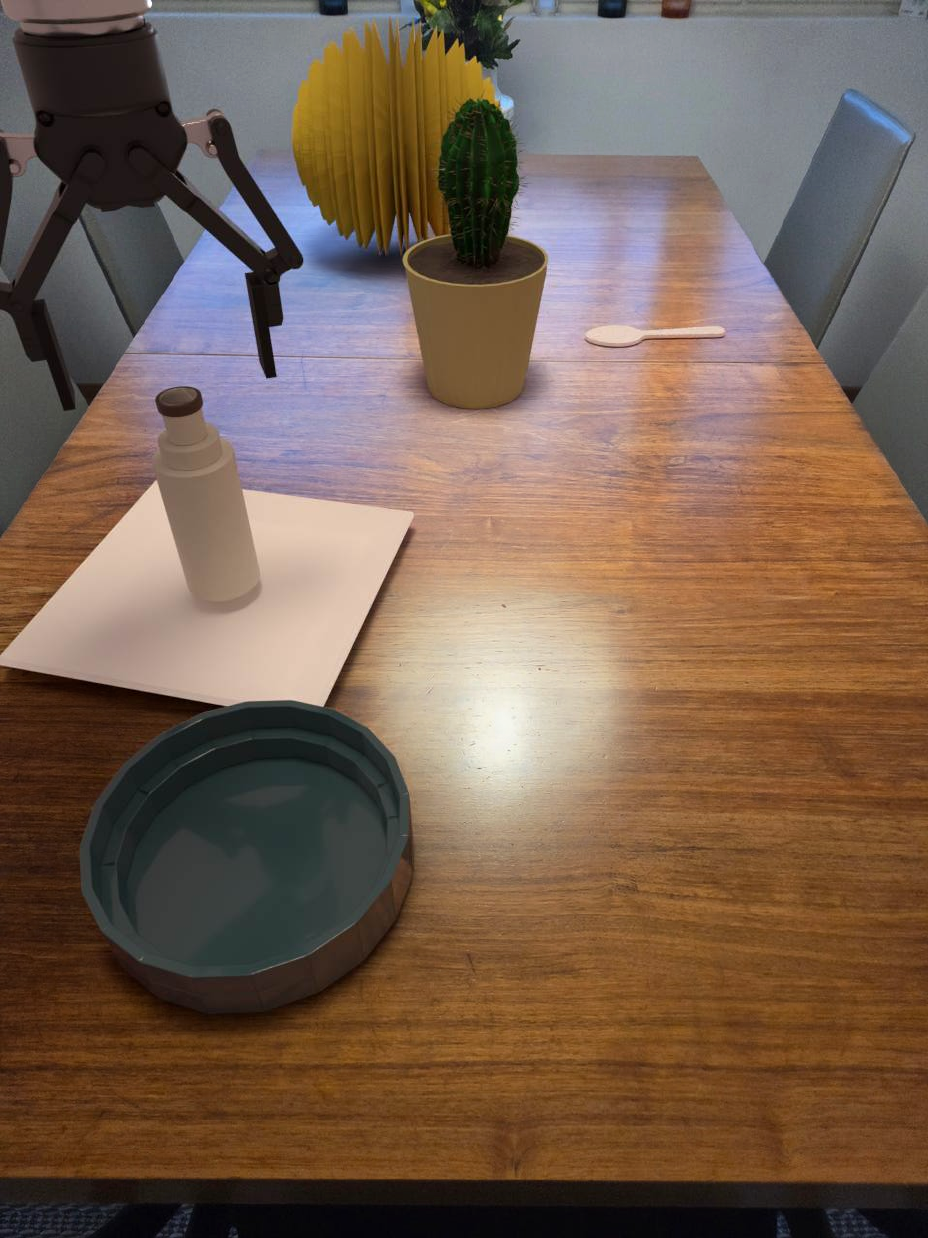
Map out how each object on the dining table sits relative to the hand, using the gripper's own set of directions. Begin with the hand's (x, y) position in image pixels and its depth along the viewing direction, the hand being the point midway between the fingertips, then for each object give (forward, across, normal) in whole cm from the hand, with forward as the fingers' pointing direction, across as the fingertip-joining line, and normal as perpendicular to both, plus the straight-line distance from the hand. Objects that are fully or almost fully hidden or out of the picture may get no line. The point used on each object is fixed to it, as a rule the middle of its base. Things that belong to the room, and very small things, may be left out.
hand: (171, 385), depth 61 cm
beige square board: (+20, 0, 0) cm, 20 cm away
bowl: (+20, +2, +27) cm, 33 cm away
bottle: (+18, 0, 0) cm, 18 cm away
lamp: (+19, -38, -72) cm, 84 cm away
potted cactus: (+20, -33, -28) cm, 48 cm away
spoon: (+19, -59, -32) cm, 70 cm away
